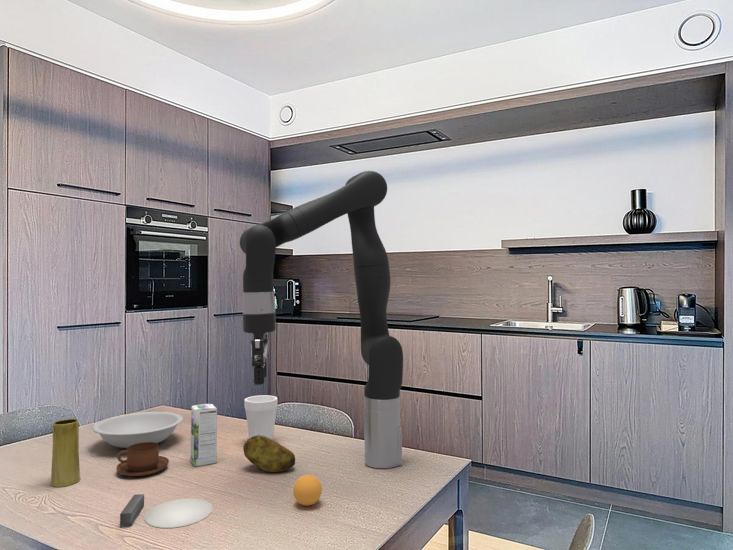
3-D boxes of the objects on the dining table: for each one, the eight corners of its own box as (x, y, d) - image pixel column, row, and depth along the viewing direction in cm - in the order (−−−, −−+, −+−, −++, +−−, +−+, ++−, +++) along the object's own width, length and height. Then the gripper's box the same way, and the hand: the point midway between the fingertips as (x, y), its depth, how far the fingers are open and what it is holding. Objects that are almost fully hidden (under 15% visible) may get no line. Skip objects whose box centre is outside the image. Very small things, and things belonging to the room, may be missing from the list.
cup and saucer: (115, 484, 120) (115, 457, 120) (117, 467, 131) (117, 442, 131) (169, 476, 125) (169, 450, 125) (167, 460, 136) (167, 437, 136)
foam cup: (238, 443, 150) (238, 398, 150) (266, 436, 156) (266, 393, 156) (255, 451, 143) (255, 404, 143) (283, 444, 149) (283, 399, 149)
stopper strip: (144, 506, 108) (144, 494, 108) (131, 526, 99) (131, 513, 99) (134, 506, 108) (134, 494, 108) (120, 527, 99) (120, 513, 99)
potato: (277, 479, 122) (277, 446, 122) (237, 470, 129) (237, 437, 129) (299, 468, 129) (299, 436, 129) (260, 459, 136) (260, 429, 136)
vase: (86, 479, 123) (86, 419, 123) (63, 488, 117) (64, 426, 117) (67, 476, 125) (67, 417, 125) (44, 485, 119) (44, 423, 119)
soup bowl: (200, 440, 153) (200, 418, 153) (124, 465, 132) (125, 439, 133) (150, 428, 166) (150, 407, 166) (74, 449, 145) (74, 425, 145)
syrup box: (189, 460, 135) (189, 405, 136) (212, 456, 138) (212, 402, 138) (194, 467, 130) (194, 410, 131) (217, 463, 133) (217, 407, 133)
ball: (321, 497, 112) (320, 469, 112) (322, 509, 106) (322, 480, 106) (293, 499, 111) (293, 471, 111) (293, 511, 105) (293, 482, 105)
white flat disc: (216, 497, 112) (216, 496, 112) (207, 525, 99) (207, 524, 99) (154, 501, 110) (154, 500, 110) (136, 530, 97) (136, 529, 97)
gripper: (273, 312, 114) (275, 386, 114) (276, 309, 128) (278, 374, 128) (239, 314, 113) (240, 388, 113) (245, 310, 127) (247, 375, 127)
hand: (260, 380), depth 120 cm, fingers open, 8 cm apart
